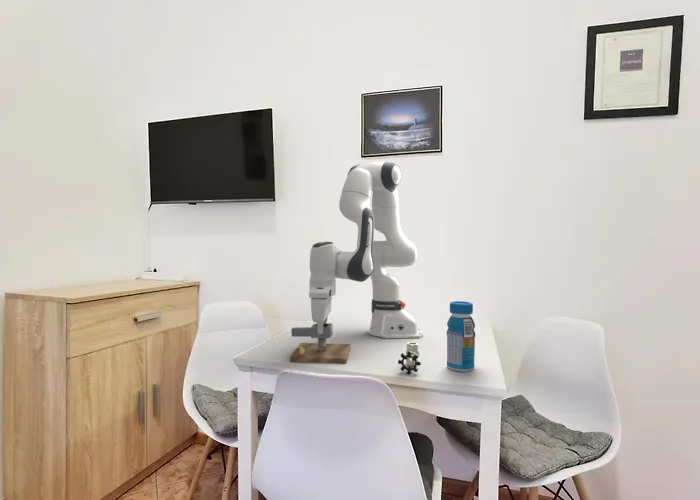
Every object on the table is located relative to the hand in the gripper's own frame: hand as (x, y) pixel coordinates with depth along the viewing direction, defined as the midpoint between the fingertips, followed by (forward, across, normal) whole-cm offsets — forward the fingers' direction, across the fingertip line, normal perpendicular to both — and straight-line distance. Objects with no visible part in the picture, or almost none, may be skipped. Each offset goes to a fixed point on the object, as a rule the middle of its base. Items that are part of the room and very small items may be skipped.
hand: (322, 330), depth 133 cm
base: (+8, 0, 0) cm, 8 cm away
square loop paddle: (+2, 0, -4) cm, 4 cm away
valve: (+8, +11, +29) cm, 32 cm away
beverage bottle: (+8, +10, +44) cm, 46 cm away
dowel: (+8, +7, -6) cm, 12 cm away
